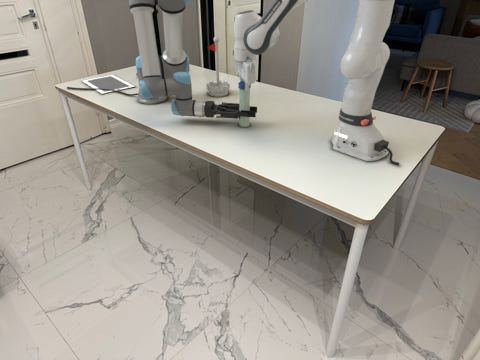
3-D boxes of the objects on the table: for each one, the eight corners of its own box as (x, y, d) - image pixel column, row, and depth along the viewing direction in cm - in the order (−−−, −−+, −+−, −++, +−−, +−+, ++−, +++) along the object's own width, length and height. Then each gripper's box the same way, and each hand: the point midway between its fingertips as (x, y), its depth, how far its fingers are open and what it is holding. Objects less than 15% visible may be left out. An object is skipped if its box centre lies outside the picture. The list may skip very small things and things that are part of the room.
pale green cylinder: (237, 125, 155) (237, 85, 145) (242, 122, 158) (242, 82, 148) (246, 127, 153) (246, 87, 143) (251, 124, 156) (251, 84, 146)
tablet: (81, 81, 211) (81, 80, 210) (113, 75, 222) (113, 74, 222) (102, 94, 190) (101, 93, 190) (135, 86, 201) (135, 86, 201)
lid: (251, 89, 144) (251, 85, 143) (238, 89, 143) (238, 85, 142) (250, 85, 148) (250, 81, 147) (238, 85, 148) (238, 81, 147)
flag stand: (225, 88, 199) (224, 33, 182) (233, 95, 188) (232, 38, 172) (204, 91, 195) (200, 35, 178) (210, 98, 184) (207, 39, 168)
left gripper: (210, 109, 164) (258, 112, 160) (201, 124, 149) (253, 127, 146) (209, 94, 159) (258, 97, 156) (199, 108, 145) (253, 111, 142)
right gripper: (259, 60, 131) (258, 95, 138) (245, 48, 147) (245, 80, 155) (244, 61, 129) (243, 96, 137) (231, 49, 146) (232, 81, 153)
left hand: (256, 112), depth 151 cm, fingers closed on pale green cylinder, 5 cm apart
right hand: (244, 87), depth 146 cm, fingers closed on lid, 5 cm apart
